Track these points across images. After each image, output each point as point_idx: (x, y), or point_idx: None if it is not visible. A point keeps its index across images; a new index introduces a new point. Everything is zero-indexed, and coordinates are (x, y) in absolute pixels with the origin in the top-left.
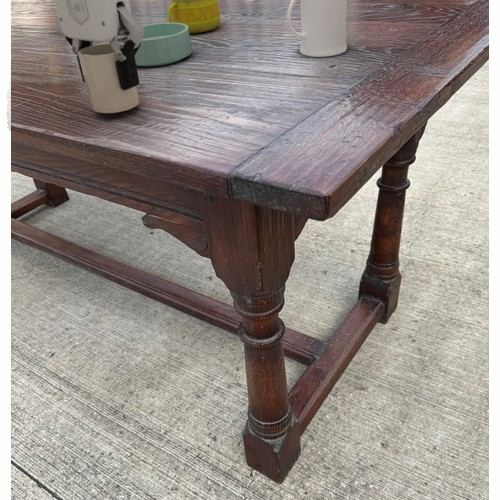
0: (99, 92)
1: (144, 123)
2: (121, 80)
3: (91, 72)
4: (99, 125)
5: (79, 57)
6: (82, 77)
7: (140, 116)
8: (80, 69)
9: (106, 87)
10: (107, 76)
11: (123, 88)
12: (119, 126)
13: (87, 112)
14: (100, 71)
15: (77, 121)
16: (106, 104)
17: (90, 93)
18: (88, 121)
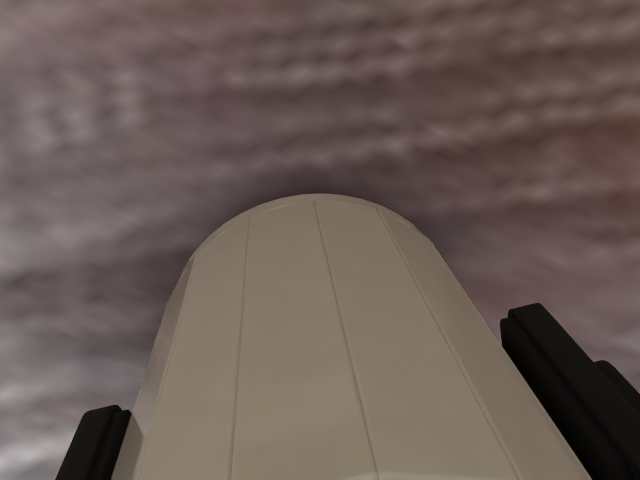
0: (227, 278)
1: (5, 312)
2: (67, 461)
3: (247, 360)
4: (198, 133)
5: (477, 439)
6: (551, 322)
7: (129, 347)
8: (586, 364)
9: (168, 340)
10: (137, 422)
11: (83, 415)
12: (77, 202)
13: (465, 193)
14: (155, 422)
15: (388, 77)
16: (208, 256)
17: (328, 238)
18: (323, 123)
